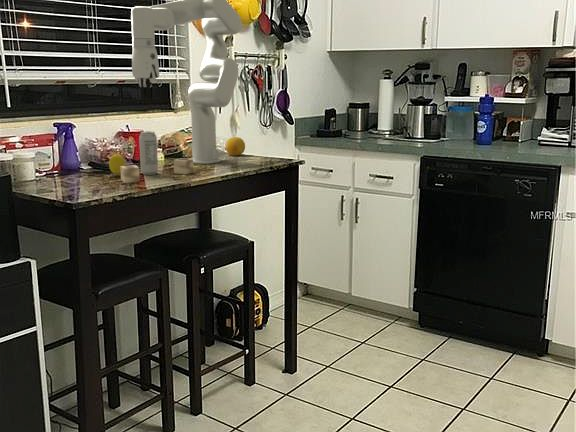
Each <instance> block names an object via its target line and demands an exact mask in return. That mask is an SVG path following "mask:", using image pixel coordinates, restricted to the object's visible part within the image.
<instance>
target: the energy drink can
mask: <svg viewBox="0 0 576 432" xmlns="http://www.w3.org/2000/svg"><path fill="white" fill-rule="evenodd" d="M157 137H158V136H157V135H156V133H155V131H152V130H151V131H150V130H149V131H141V132H140V135H139V137H138V139H139V156H140V159H139V160H140V161H139V162H140V172H141V174H142V175H144V176H151V175H152V176H153V175H156V174H158V172H159V162H158V158H159V157H158V142H157V141H158V138H157Z"/></svg>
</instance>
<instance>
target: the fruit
mask: <svg viewBox="0 0 576 432" xmlns="http://www.w3.org/2000/svg"><path fill="white" fill-rule="evenodd" d="M224 146H225V147H224V148H225V150H226V152H227V154H228V155H230V156H233V157H236V156H237V157H238V156H241V155H243V154H244V153H245V149H246V143H245V141H244V139H243V138H241V137H238V136H232V137H229V138H228V139H227V140H226V142H225V145H224Z"/></svg>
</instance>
